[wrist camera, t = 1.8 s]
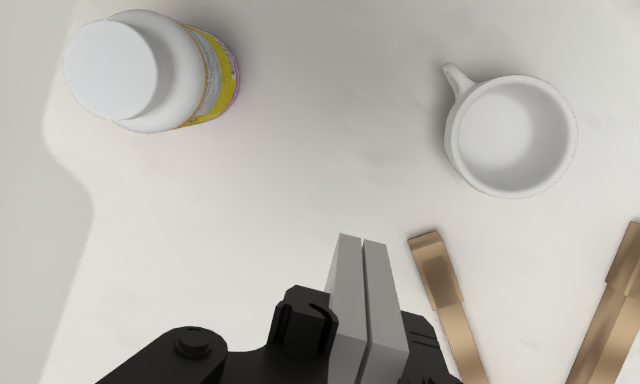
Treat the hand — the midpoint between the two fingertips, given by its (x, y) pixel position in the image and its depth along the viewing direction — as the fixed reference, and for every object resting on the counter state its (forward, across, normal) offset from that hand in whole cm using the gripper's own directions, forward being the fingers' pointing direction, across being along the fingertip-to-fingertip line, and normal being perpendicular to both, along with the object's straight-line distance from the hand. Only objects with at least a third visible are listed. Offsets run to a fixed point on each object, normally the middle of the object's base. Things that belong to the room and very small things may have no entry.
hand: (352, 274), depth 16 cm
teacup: (+20, +8, +6) cm, 22 cm away
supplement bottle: (+20, -13, +4) cm, 24 cm away
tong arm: (+19, +12, -12) cm, 26 cm away
